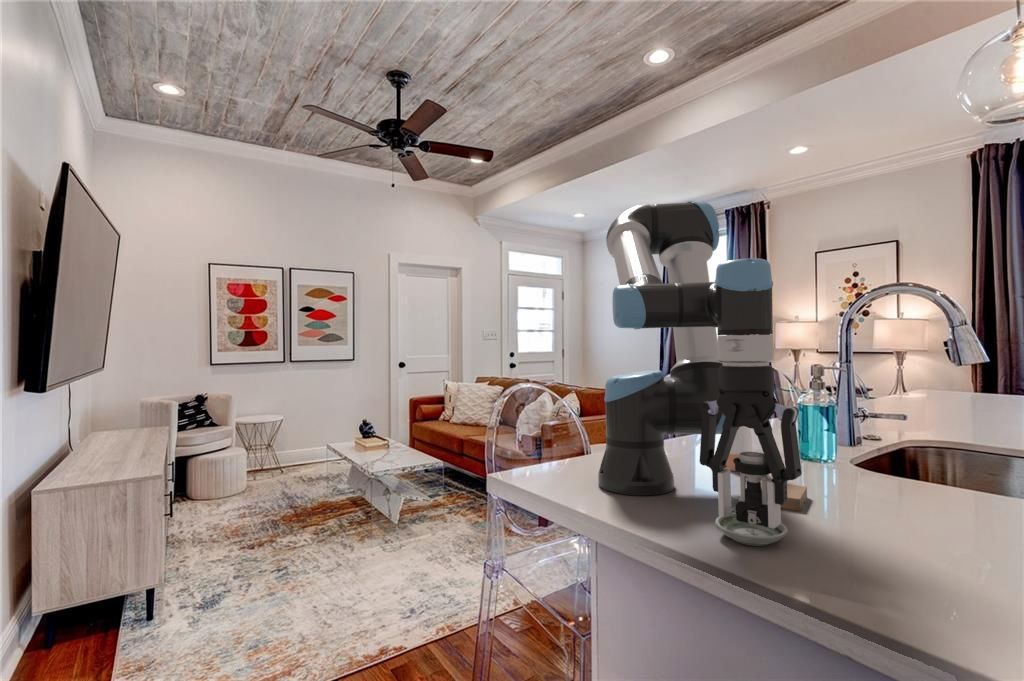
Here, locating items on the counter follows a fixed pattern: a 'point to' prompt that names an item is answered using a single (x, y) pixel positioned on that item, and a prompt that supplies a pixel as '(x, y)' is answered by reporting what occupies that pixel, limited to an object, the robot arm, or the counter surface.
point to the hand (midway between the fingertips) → (749, 519)
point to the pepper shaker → (739, 446)
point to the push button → (752, 489)
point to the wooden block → (794, 497)
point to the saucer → (749, 531)
